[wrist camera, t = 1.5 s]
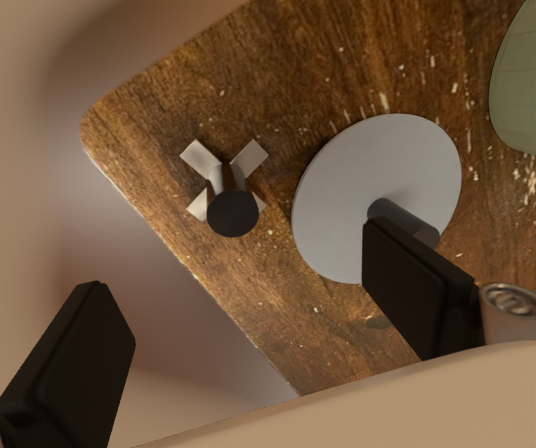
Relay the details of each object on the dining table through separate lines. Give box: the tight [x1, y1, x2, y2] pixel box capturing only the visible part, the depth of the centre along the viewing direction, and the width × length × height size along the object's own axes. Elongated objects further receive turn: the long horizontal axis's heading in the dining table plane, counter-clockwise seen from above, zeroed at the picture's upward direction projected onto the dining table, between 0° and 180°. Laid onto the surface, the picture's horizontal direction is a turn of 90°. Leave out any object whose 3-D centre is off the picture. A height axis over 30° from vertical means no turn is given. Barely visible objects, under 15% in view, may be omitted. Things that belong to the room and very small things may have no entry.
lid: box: [291, 113, 462, 284], centre depth 22 cm, size 16×16×7 cm
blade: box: [180, 138, 269, 237], centre depth 18 cm, size 7×7×7 cm
